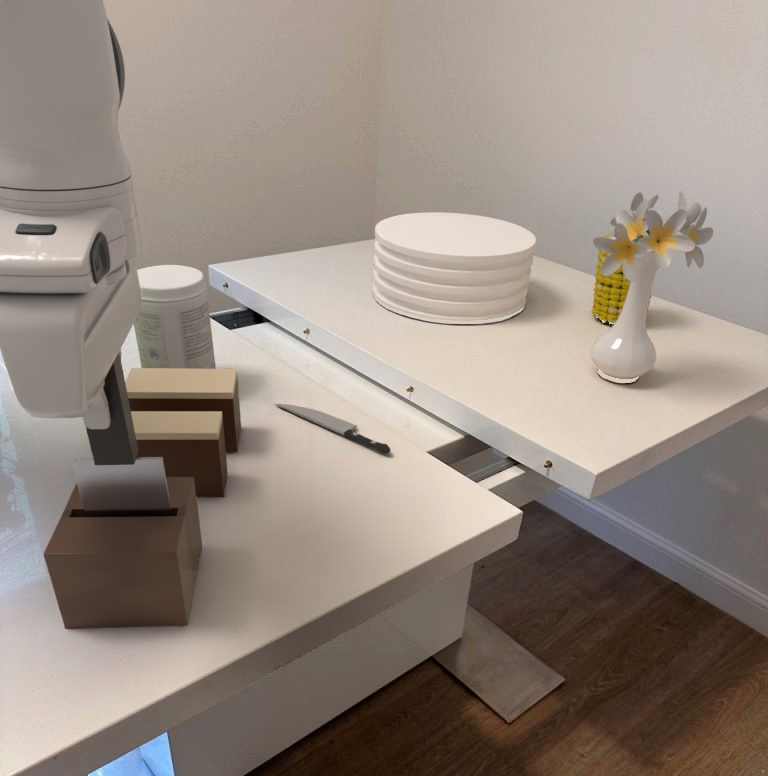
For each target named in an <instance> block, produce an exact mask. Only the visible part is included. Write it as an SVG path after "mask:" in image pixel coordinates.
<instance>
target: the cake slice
mask: <svg viewBox="0 0 768 776" xmlns="http://www.w3.org/2000/svg"><path fill="white" fill-rule="evenodd" d="M131 415H132V420H133V425H134V430H135V435H136V441H137V446H138V451H139V452H138V455H137V458H139V457H163V463H164V469H165V474H166V477H194V483H195V491H196V498H223V497H225V493H226V488H227V487H226V486H227V480H228V475H229V473H228V471H229V470H228V463H227V453H226V449H225V438H224V428H223V419H222V418H223V417H222V412H216V411H131Z"/></svg>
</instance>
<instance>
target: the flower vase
mask: <svg viewBox="0 0 768 776" xmlns="http://www.w3.org/2000/svg"><path fill="white" fill-rule="evenodd" d="M658 200H659V194H655V195H653V196H652V197H651V198H650V199H647V198H644V195H643V193H642V192H639V191H638V192H637V193H636V194H635V195H634V196H633V198H632V200H631V203H630V210H629V211H628V210H626V209H619V210H618V211H617V212H616V214H615V216H614V217H613V218H612V219H611V220H610V223H609V224H610V225H611V226H613V227H614V229H613V234H611V235H610V236H609V237H607V238H606V237H604V236H595V237H594V238H593V239H592V244H593V246H594V247H595V248H596V249H597V250H598V251H599V250H600V251H602V252H605V253H612V254H611V255H609V256H608V257H607V258H606V259H605V261H604V262H603V264H602V266H601V274H602V275H603V276H610V275H612V274H613V273H614V272H616V270H618V268H619V267H620V266H621V265H622V264H623V266H622V269H623V273H624V275H625V277H626V278H627V279H628V280H629V281H631V282H630V286H629V289H628V293H627V296H626V299H625V303H624V306H623V309H622V311H621V313H620V316H619V318H618V319H617V321H616V322H615V324H614V325H611V326H610V328H609V329H608V330H607V331H605V332H603V333H601V334H600V335H599V336H598V337H597V338H596V339H595V341H594V342H593V344H592V345H591V347H590V350H589V353H590V359H591V361H592V363H593V365H594V366H595V367H596V369H597V368H598V369H600V370H601V371H602V372H603V373H604V374H606V375H608V376H611V377H614V378H619V379H633V378H636V377H638V376H640V377H641V376H643V375H645V374H646V373H649V371H651V370H652V369H653V368H654V366H655V365H656V362H657V351H656V347H655V344H654V342H653V341H652V339H651V338H650V337H649V334H648V330H647V314H646V313H648V312H647V307H648V308H649V306H648V303H649V298H650V294H651V295H652V289H653V285H654V282H655V279H656V278H655V277H656V275H657V272H658V269H660V270H661V271H667V270H669V268H670V267H671V265H672V262H673V254H672V251H673V252H678V253H684V254H685V255H684V256H685V260H686V267H687V268H690V267H691V265H692V262H693V261H694V263H695V265H696V266H697V267H698V268H699V269H702V268H703V267H704V262H705V258H704V253H703V251H702V248H701V247H700V246H702V245H705V244H707V243H709V241H710V240H711V239H712V237H713V236H714V229H713V228H712V227H710V226H708V227H702V226H703V225H704V223H705V221H706V219H707V214H708V207H706V206H704V208H702V205H701V204H700V202H698V201H696V202H692V203H691V204H690V205H689V206H688V208H687V200H686V196H685V194H684V192H683V191H682V190H680V191H679V193H678V202H677V210H676V211H674V213H672V214H670V215H668V216H666V217H664V213H663V211H662V210H661V209H659V208H656V207H655V205H656V203H657V202H658ZM679 232H680V233H681V234H678V233H679ZM644 233H645V234H647V236H643V234H644ZM638 238H639V239H638ZM623 262H624V263H623ZM650 299H651V298H650ZM649 304H650V303H649Z"/></svg>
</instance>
